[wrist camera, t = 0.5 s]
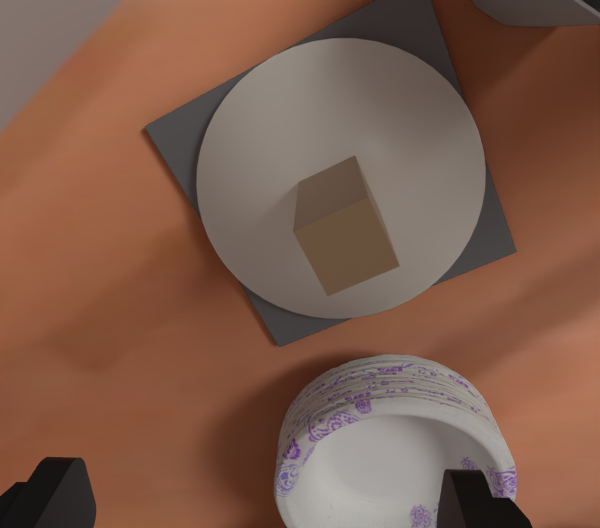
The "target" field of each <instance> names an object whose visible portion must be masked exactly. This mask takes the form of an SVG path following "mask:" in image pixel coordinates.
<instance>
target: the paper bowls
mask: <svg viewBox="0 0 600 528" xmlns="http://www.w3.org/2000/svg"><path fill="white" fill-rule="evenodd" d="M446 469H467V470H481V471H482V472H483V473H484V475H485V477H486V480H487V482H488V485H489V488H490V491H491V493H492V496H493V497H501V498H510V499H511V500H512V501H513V502H515V497H516V490H517V477H516V474H517V473H516V469H515V464H514V460H513V458H512V456H511V453H510V451H509V449H508V446H507V444H506V442H505V440H504V438H503V436H502V434H501V432H500V430H499V427H498V426H497V424H496V422H495V420H494V418H493V416H492V413H491V411H490V409H489V407H488V405H487V403H486V402H485V400H484V398H483V397H482V395H481V394H480V393H479V392H478V391H477V389H476V388H475V387H474V386H473V385H472V384H471V383H470V382H469V381H467V380H466V379H465V378H464V377H462V376H461V375H460V374H458V373H457V372H455V371H453V370H451V369H449V368H448V367H446V366H443V365H441V364H439V363H437V362H434V361H431V360H427V359H423V358H420V357H416V356H412V355H395V354H385V355H379V356H374V357H368V358H362V359H358V360H353V361H350V362H348V363H345V364H342V365H340V366H339V367H337V368H332V369H330V370H328V371H327V372H325V373H323V374H322V375H321V376H319V377H317V378H316V379H314V380H313V381H312V382H310V383H309V384H308V385H307V386H306V387H305V388H303V389H302V391H301V392H300V393H299V394H298V395H297V396H296V398H295V400H293V402H292V404H291V405H290V407H289V408H288V410H287V413H286V414H285V419H284V420H283V424H282V427H281V431H280V435H279V442H278V453H277V459H276V469H275V470H276V471H275V478H274V497H275V502H276V504H277V508H278V511H279V513H280V516H281V518H282V520H283V522H284V524H285V525H286V527H287V528H437V512H438V506H439V499H440V493H441V487H442V481H443V475H444V471H445V470H446Z"/></svg>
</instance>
